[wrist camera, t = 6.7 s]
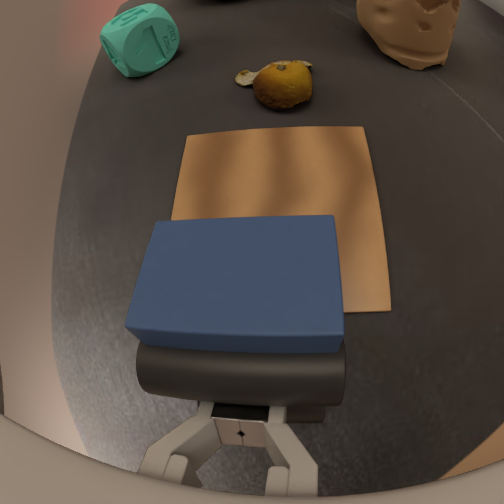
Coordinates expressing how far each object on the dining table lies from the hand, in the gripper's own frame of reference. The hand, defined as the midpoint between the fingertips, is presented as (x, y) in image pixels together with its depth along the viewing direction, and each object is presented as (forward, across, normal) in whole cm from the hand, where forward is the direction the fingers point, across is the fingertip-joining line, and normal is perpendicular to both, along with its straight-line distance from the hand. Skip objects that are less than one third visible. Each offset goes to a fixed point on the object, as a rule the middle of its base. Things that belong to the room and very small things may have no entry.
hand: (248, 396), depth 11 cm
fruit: (+26, -1, -14) cm, 29 cm away
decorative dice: (+33, +17, -21) cm, 42 cm away
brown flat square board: (+15, 0, -3) cm, 15 cm away
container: (+33, -17, -21) cm, 42 cm away
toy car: (+6, 0, +5) cm, 8 cm away
